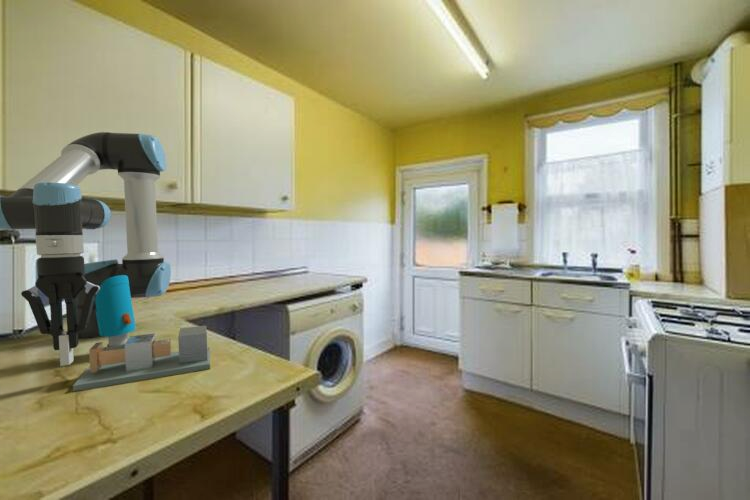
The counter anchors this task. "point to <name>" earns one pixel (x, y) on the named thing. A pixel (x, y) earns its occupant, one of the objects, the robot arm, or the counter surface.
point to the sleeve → (139, 352)
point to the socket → (192, 344)
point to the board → (137, 372)
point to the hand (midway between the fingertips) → (67, 363)
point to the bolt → (122, 353)
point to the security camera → (115, 310)
